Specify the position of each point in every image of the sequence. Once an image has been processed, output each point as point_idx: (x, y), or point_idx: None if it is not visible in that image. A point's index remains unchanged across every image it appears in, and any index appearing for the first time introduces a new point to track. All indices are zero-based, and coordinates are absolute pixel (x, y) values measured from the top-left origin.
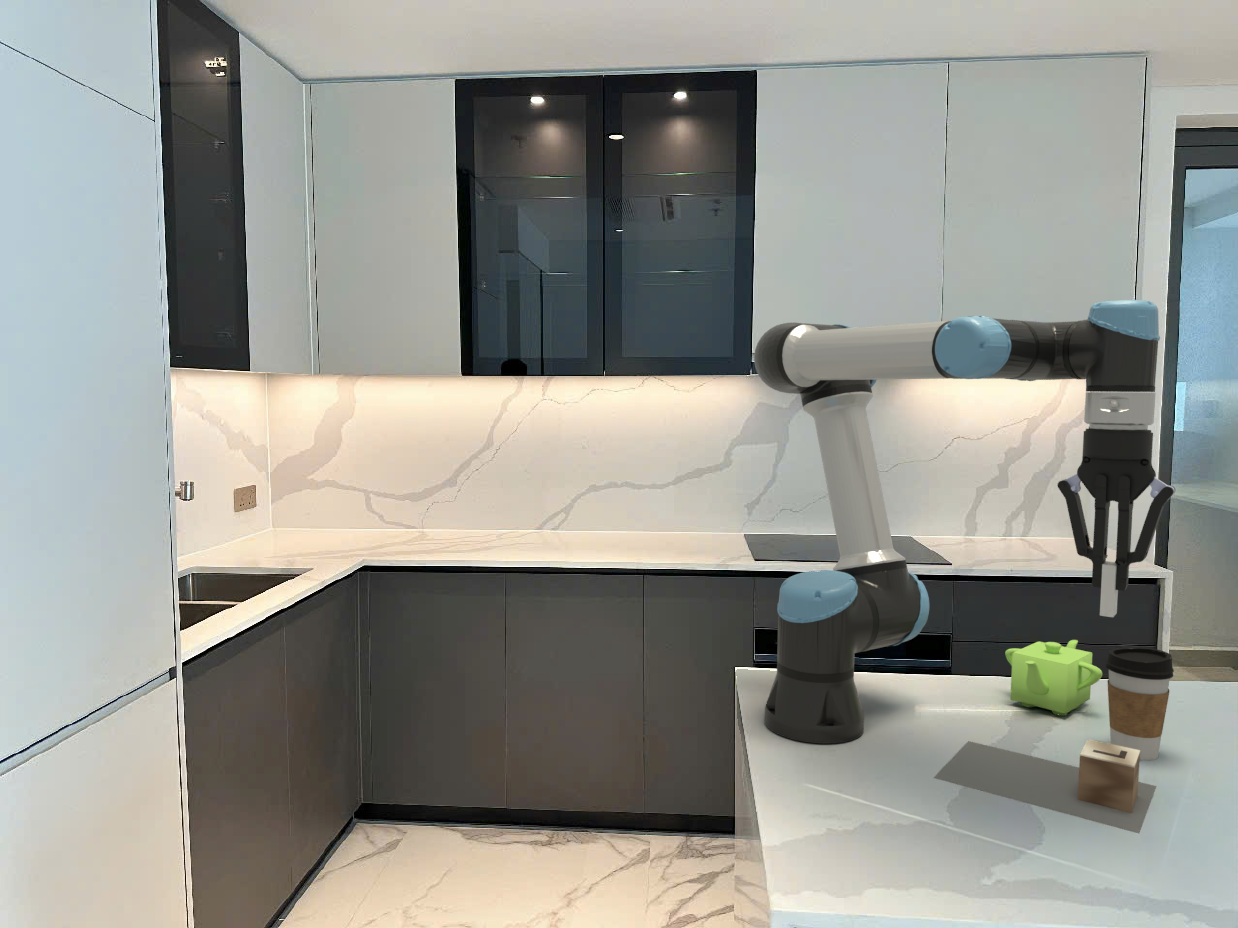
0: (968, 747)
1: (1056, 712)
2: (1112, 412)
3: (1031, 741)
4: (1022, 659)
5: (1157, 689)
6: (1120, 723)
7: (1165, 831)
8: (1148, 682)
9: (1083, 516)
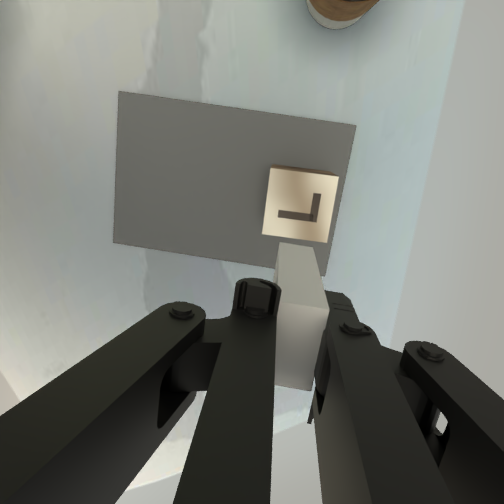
0: (124, 118)
1: None
2: None
3: (196, 28)
4: None
5: None
6: (320, 10)
7: (351, 250)
8: None
9: (79, 455)
